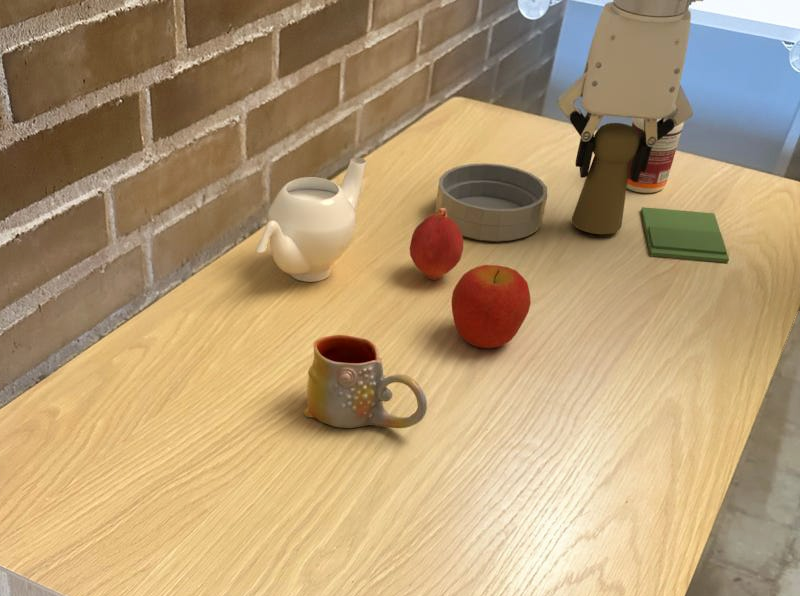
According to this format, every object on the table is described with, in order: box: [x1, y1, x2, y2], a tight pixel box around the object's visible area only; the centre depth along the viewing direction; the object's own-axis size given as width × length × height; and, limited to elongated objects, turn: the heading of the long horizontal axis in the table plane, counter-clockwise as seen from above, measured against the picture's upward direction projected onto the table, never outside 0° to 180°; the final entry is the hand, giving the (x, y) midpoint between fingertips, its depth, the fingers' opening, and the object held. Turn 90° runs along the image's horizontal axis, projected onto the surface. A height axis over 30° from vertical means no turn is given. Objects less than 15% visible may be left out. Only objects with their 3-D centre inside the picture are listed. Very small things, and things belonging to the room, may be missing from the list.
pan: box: [434, 162, 548, 243], centre depth 118 cm, size 13×13×4 cm
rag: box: [640, 206, 730, 264], centre depth 118 cm, size 9×12×1 cm
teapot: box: [255, 157, 367, 283], centre depth 106 cm, size 10×20×9 cm, turn 146°
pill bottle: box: [626, 104, 685, 194], centre depth 123 cm, size 6×6×11 cm
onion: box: [409, 208, 464, 281], centre depth 106 cm, size 6×6×8 cm
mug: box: [303, 334, 428, 429], centre depth 88 cm, size 12×7×7 cm, turn 55°
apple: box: [450, 264, 531, 349], centre depth 98 cm, size 8×8×8 cm
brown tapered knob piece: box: [571, 122, 640, 235], centre depth 114 cm, size 6×6×11 cm
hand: (608, 173), depth 114 cm, fingers closed on brown tapered knob piece, 5 cm apart
